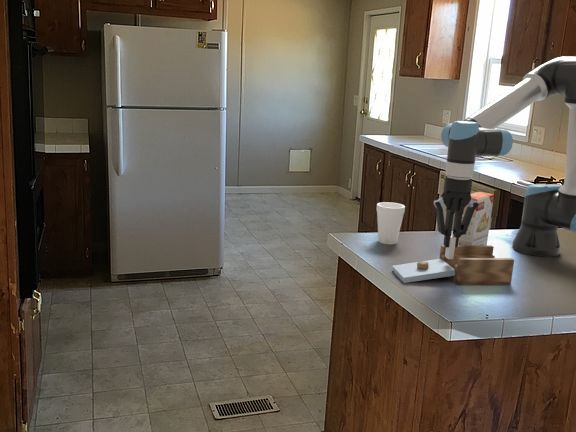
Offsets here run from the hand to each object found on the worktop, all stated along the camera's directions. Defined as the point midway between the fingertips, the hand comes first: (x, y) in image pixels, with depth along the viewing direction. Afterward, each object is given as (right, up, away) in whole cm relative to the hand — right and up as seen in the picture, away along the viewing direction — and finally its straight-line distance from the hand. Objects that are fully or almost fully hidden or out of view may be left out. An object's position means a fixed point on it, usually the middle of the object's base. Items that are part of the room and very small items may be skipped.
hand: (449, 257), depth 173 cm
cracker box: (+12, -2, +21) cm, 24 cm away
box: (+8, -6, +3) cm, 10 cm away
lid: (-7, -4, 0) cm, 9 cm away
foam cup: (-12, +3, +35) cm, 37 cm away
